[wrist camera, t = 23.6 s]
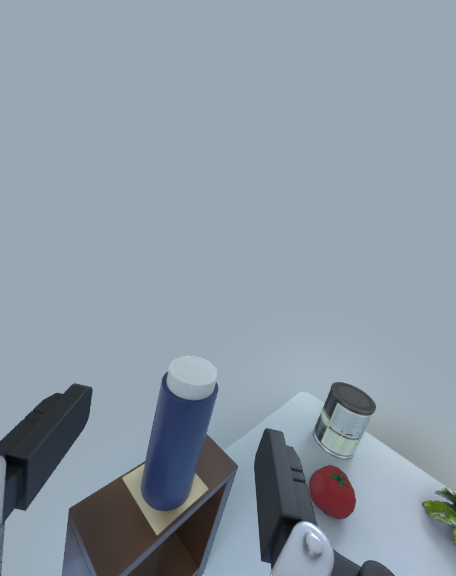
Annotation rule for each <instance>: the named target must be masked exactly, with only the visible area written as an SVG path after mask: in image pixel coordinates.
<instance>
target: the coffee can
mask: <svg viewBox="0 0 456 576" xmlns="http://www.w3.org/2000/svg"><path fill="white" fill-rule="evenodd" d="M375 410H376V405H375V403H374V401H373V400H372V399H371V398H370V397H369V396H368V395H367V394H366V393H364V392H363V391H362V390H360V389H358V388H356V387H354V386H352V385H349V384H346V383H342V382H336V383H333V384H332V386H331V390H330V392H329V395H328V398H327V400H326V402H325V404H324V407H323V409H322V412H321V414H320V417H319V419H318V422H317V424H316V426H315V428H314V437H315V439H316V441H317V442H318V444H319V445H320V446H321V447H322V448H323V449H324V450H325V451H327V452H328V453H330V454H331V455H333V456H335V457H338V458H342V459H348V458H351V457H352V456H353V455H354V452H355V450H356V447H357V445H358V443H359V441H360V439H361V437H362V435H363V433H364V431H365V429H366V427H367V425H368V422H369V420H370V418H371V416H372V414H373V413H374V411H375Z"/></svg>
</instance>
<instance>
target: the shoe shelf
mask: <svg viewBox="0 0 456 576" xmlns="http://www.w3.org/2000/svg"><path fill="white" fill-rule="evenodd" d="M144 466H145V462H143V463H142V464H140V465H138V466H137V467H135V468H134V469H132V470H130V471H129V472H127V473H126V474H124V475H123V476H121V477H119V478H117V479H116V480H114V481H113V482H111V483H109V484H108V485H106V486H105V487H103V488H101V489H100V490H98V491H97V492H95V493H93V494H92V495H90V496H89V497H87V498H85V499H84V500H82V501H81V502H79V503H77V504H76V505H74V506H72V507H71V508H69V516H68V524H67V534H66V543H65V552H64V561H63V570H62V576H201V575H202V574H203V572H204V569H205V565H206V562H207V559H208V556H209V553H210V550H211V547H212V544H213V541H214V538H215V535H216V532H217V529H218V526H219V523H220V520H221V517H222V514H223V511H224V508H225V505H226V502H227V499H228V496H229V493H230V490H231V487H232V484H233V481H234V478H235V474H236V471H237V468H238V465H237V464H236V463H235V462H234V461H233V460H232V459H231V458H230V457H229V456H228V455H227V454H226V453H225V452H224V451H223V450H222V449H221V448H220V447H219V446H218V445H217V444H216V443H215V442H214V441H213V440H212V439H211V438H210V437H209V436H208V435H207V434H206V437H205V441H204V444H203V448H202V451H201V455H200V459H199V462H198V466H197V470H196V473H195V477H194V481H193V484H192V488H191V491H190V494H189V496H188V498H187V500H186V501H185V502H184V503H183V504H182V505H181V506H180V507H178V508H176V509H174V510H171V511H159V510H156V509H153V508H152V507H150V506H149V505H148V504H147V503H146V502H145V500H144V499H143V496H142V493H141V480H142V475H143V470H144Z"/></svg>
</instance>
